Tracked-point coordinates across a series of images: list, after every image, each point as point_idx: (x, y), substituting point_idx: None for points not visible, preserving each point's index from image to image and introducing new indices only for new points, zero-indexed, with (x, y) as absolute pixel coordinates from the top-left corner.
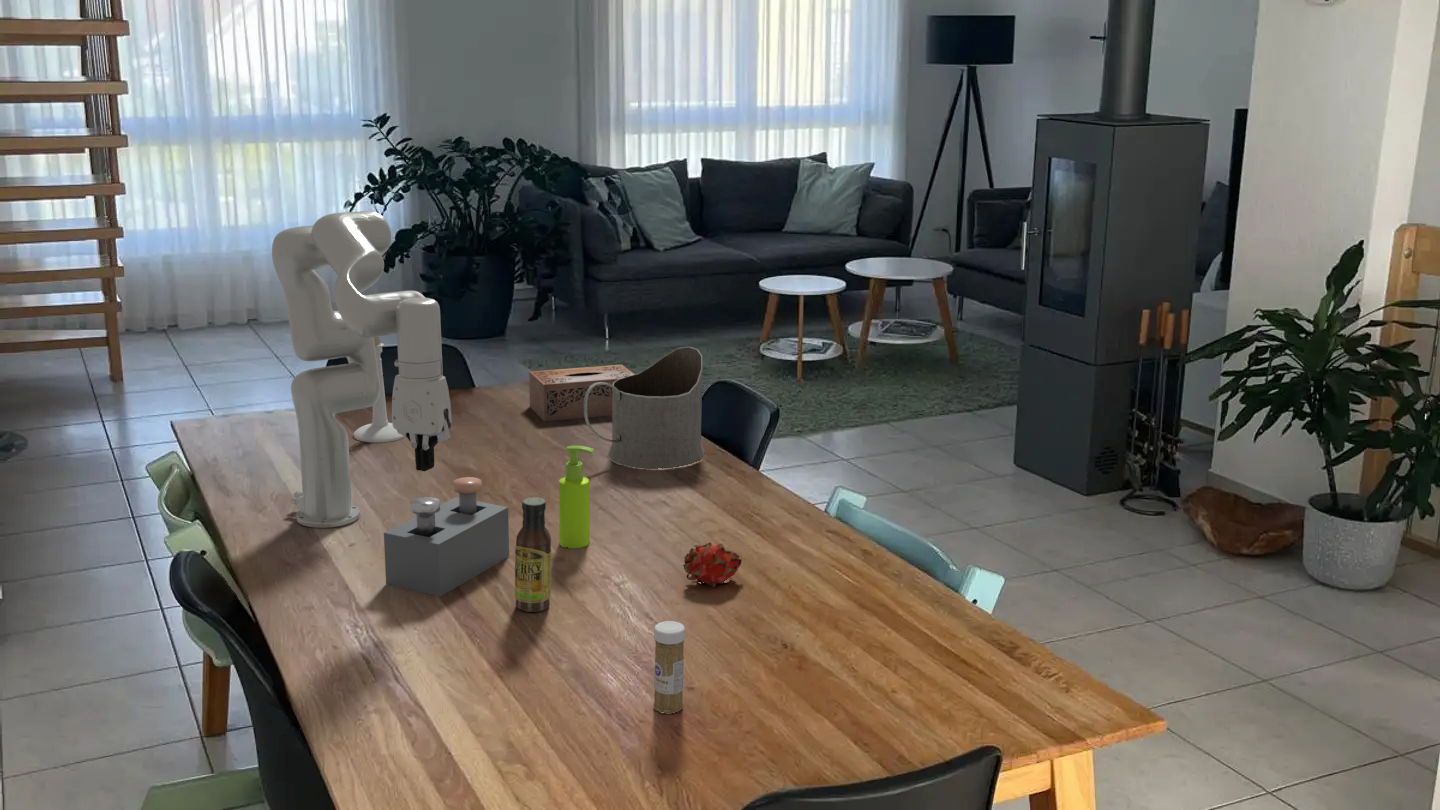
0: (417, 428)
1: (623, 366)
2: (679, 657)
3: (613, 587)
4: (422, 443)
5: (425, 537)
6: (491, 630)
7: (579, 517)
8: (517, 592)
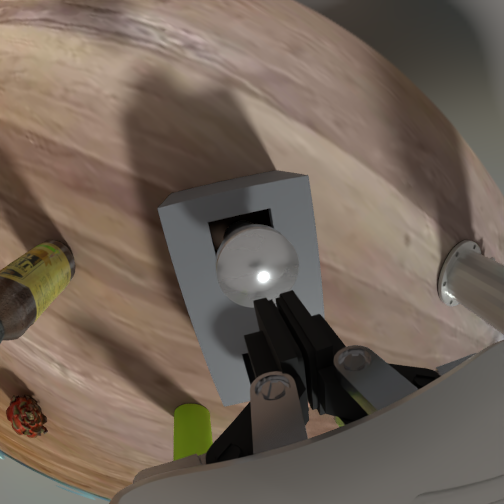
0: (338, 480)
1: None
2: None
3: (57, 358)
4: (297, 396)
5: (213, 215)
6: (38, 172)
7: (174, 439)
8: (44, 246)
